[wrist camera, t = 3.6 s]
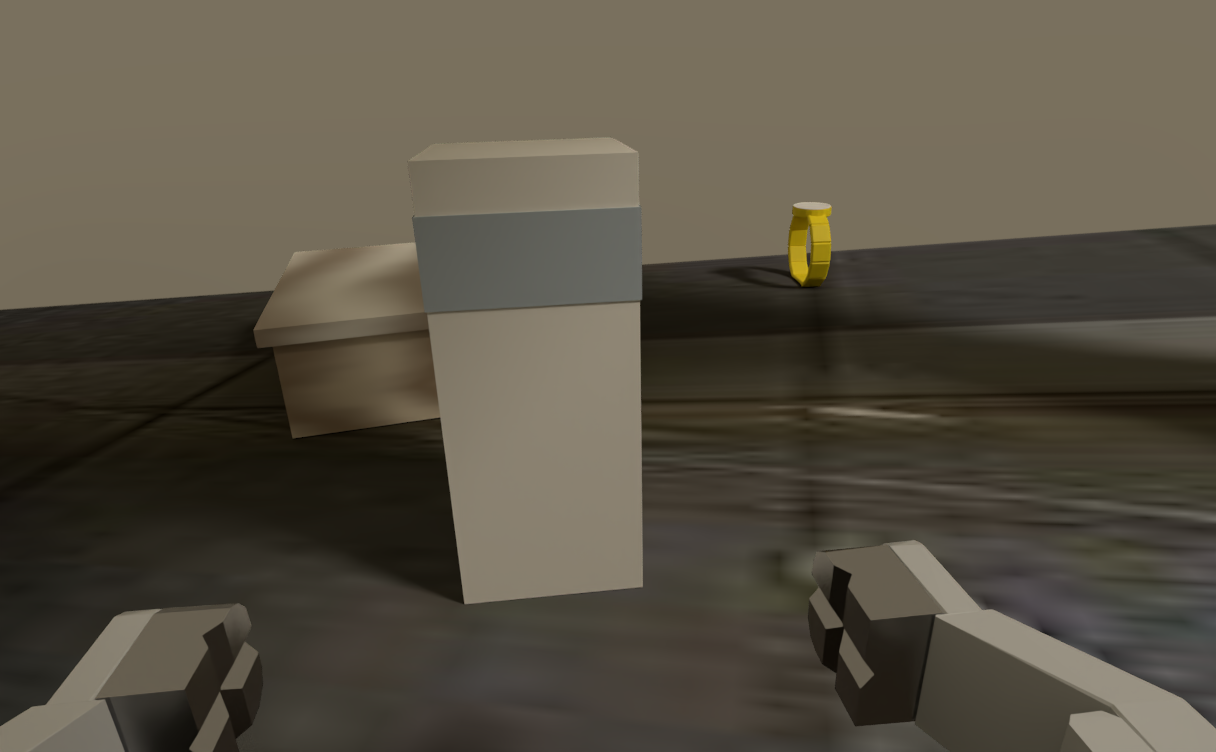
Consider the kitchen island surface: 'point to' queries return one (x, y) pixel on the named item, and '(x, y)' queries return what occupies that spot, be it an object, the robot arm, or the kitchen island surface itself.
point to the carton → (536, 358)
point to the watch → (820, 240)
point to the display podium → (351, 340)
